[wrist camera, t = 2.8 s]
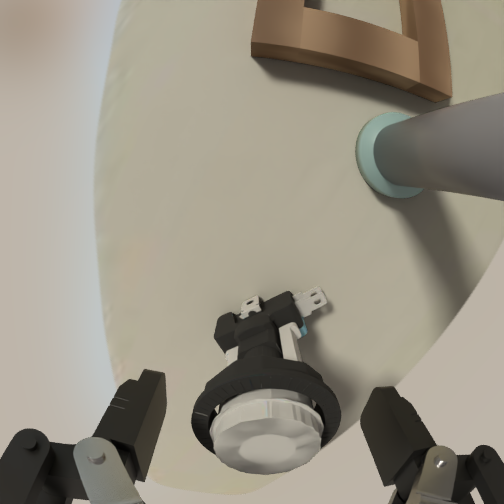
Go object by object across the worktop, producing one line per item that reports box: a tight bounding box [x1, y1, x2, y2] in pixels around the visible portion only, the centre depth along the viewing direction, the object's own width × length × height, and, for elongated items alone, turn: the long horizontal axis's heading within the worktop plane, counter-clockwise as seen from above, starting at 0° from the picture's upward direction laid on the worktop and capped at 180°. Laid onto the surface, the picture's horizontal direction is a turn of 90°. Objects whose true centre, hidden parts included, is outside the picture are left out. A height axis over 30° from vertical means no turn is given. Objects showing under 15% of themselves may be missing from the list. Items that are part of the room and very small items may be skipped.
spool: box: [355, 93, 504, 201], centre depth 8 cm, size 5×5×14 cm
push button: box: [191, 286, 341, 475], centre depth 13 cm, size 7×5×10 cm
